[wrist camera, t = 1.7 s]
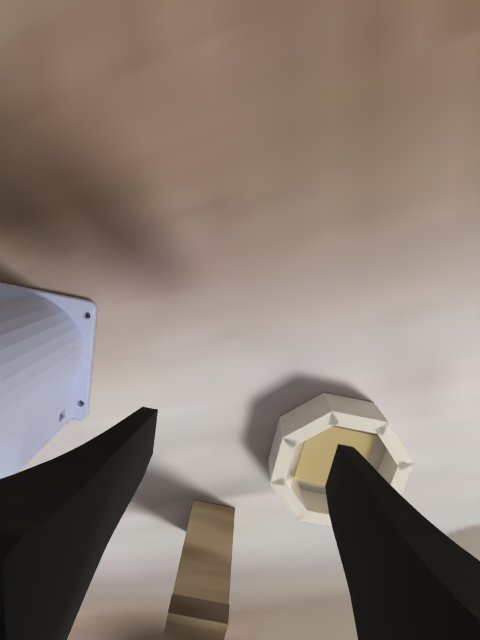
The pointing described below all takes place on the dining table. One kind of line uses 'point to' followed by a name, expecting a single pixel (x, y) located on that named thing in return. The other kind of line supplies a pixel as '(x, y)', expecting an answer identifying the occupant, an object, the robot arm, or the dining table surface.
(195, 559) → the brown rectangular block
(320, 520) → the jar dish
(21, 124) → the dining table surface
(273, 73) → the dining table surface
